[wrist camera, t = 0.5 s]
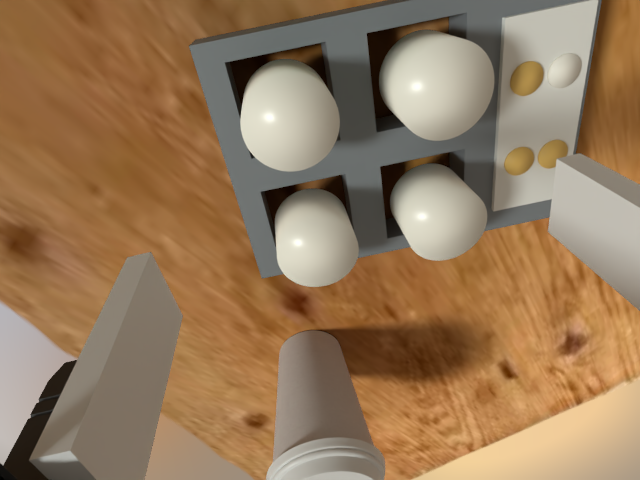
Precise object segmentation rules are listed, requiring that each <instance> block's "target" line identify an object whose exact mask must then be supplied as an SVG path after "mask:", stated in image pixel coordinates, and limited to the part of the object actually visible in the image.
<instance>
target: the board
mask: <svg viewBox="0 0 640 480" xmlns="http://www.w3.org/2000/svg"><path fill="white" fill-rule="evenodd" d="M600 6H601V0H387V1H382V2H377V3H372V4H367V5H362V6H357V7H353V8H348V9H343V10H338V11H333V12H328V13H324V14H319V15H314V16H309V17H304V18H299V19H294V20H290V21H285V22H280V23H275V24H270V25H265V26H260V27H256V28H251V29H246V30H241V31H236V32H231V33H227V34H222V35H217V36H212V37H207V38H202V39H197V40H195V41H194V42H193V43H192V44H191V45H190V46H189V48H190V51H191V54H192V57H193V60H194V64H195V67H196V70H197V73H198V76H199V80H200V83H201V86H202V89H203V92H204V95H205V99H206V102H207V105H208V108H209V111H210V115H211V118H212V121H213V124H214V127H215V131H216V134H217V137H218V140H219V143H220V146H221V150H222V153H223V156H224V159H225V162H226V166H227V169H228V172H229V175H230V178H231V182H232V185H233V188H234V191H235V194H236V197H237V201H238V204H239V207H240V210H241V213H242V217H243V220H244V223H245V226H246V229H247V233H248V236H249V239H250V242H251V245H252V248H253V252H254V255H255V258H256V261H257V264H258V268H259V271H260V274H261V277H262V278H266V277H271V276H276V275H280V274H284V273H283V272H282V271H281V269H280V267H279V265H278V261H277V251H276V235H275V228H274V224H273V221H272V217H271V213H270V210H269V206H268V202H267V199H266V195H265V191H267V190H271V189H276V188H281V187H286V186H290V185H295V184H300V183H305V182H309V181H314V180H319V179H324V178H328V177H333V176H338V175H342V181H343V187H344V194H345V200H346V207H347V213H348V217H349V220H350V223H351V225H352V228H353V231H354V233H355V236H356V239H357V241H358V247H359V253H358V258H360V257H365V256H370V255H374V254H379V253H384V252H388V251H393V250H398V249H403V248H407V247H411V246H410V245H409V243H408V241H407V239H406V237H405V236H404V234H403V232H402V230H401V229H400V227H399V225H398V223H397V221H396V220H395V218H389V219H385V210H384V200H383V190H382V180H381V170H380V167H381V166H385V165H390V164H395V163H400V162H404V161H409V160H414V159H418V158H423V157H428V156H433V155H437V154H442V153H447V152H449V168H450V169H451V170H452V171H453V172H454V173H455V174H456V175H457V176H458V177H459V178H460V179H461V180H462V181H463V182H464V183H465V184H466V185H467V186H468V187H469V188H470V189H471V190H472V191H473V192H475V193H476V194H477V195H478V196H479V197H480V199H481V200H482V201H483V203H484V204H485V207H486V210H487V224H486V227H485V230H484V231H487V230H492V229H496V228H501V227H506V226H510V225H515V224H520V223H525V222H529V221H534V220H539V219H543V218H548V217H550V211H551V202H552V194H553V185H554V177H555V168H556V160H557V158H562V157H566V156H570V155H575V154H576V149H577V143H578V137H579V131H580V125H581V119H582V113H583V107H584V101H585V95H586V89H587V83H588V78H589V72H590V66H591V60H592V54H593V48H594V42H595V36H596V30H597V24H598V18H599V12H600ZM448 16H449V35H452V36H456V37H459V38H463V39H466V40H469V41H472V42H473V43H475V44H477V45H478V46H480V47H481V48H482V49H483V50H484V51H485V52H486V54H487V55H488V57H489V59H490V61H491V63H492V66H493V70H494V90H493V94H492V98H491V100H490V103H489V105H488V107H487V109H486V111H485V112H484V114H483V115H482V117H481V118H480V119H479V120H478V121H477V123H476V124H475V125H474V126H472V127H471V128H470V129H469V130H467V131H466V132H464V133H463V134H461V135H459V136H457V137H454V138H451V139H448V140H442V141H433V140H427V139H423V138H421V137H419V136H417V135H416V134H414V133H413V132H412V131H411V130H409V129H408V128H407V127H406V126H405V125H404V124H403V123H402V122H401V121H400V120H399V119H398V118H397V117H396V116H395V115H391V116H386V117H382V118H377V119H375V111H374V101H373V91H372V81H371V71H370V61H369V51H368V41H367V33H370V32H375V31H380V30H385V29H390V28H395V27H399V26H404V25H409V24H414V23H419V22H423V21H428V20H433V19H438V18H443V17H448ZM317 43H321V46H322V53H323V59H324V65H325V72H326V78H327V85H328V90H329V91H330V93H331V95H332V96H333V98H334V100H335V102H336V105H337V107H338V111H339V118H340V128H339V133H338V137H337V140H336V142H335V144H334V146H333V148H332V149H331V151H330V152H329V153H328V155H327V156H326V157H325V158H324V159H323V160H321V161H320V162H319V163H317V164H316V165H314V166H312V167H310V168H307V169H304V170H301V171H293V172H287V171H280V170H276V169H273V168H270V167H268V166H266V165H264V164H263V163H261V162H260V161H259V160H258V159H256V158H255V157H254V156H253V154H252V153H251V152H250V151H249V149H248V148H247V146H246V144H245V142H244V139H243V136H242V132H241V125H240V119H241V110H242V106H241V102H240V99H239V95H238V91H237V88H236V84H235V80H234V77H233V73H232V69H231V65H230V61H235V60H240V59H245V58H250V57H254V56H259V55H264V54H269V53H274V52H279V51H283V50H288V49H293V48H298V47H303V46H308V45H312V44H317Z"/></svg>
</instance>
